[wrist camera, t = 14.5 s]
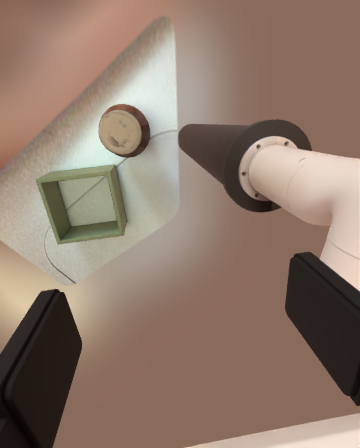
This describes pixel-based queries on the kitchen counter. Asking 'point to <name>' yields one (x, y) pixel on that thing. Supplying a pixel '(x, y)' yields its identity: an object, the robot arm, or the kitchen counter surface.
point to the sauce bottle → (124, 130)
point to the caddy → (58, 212)
